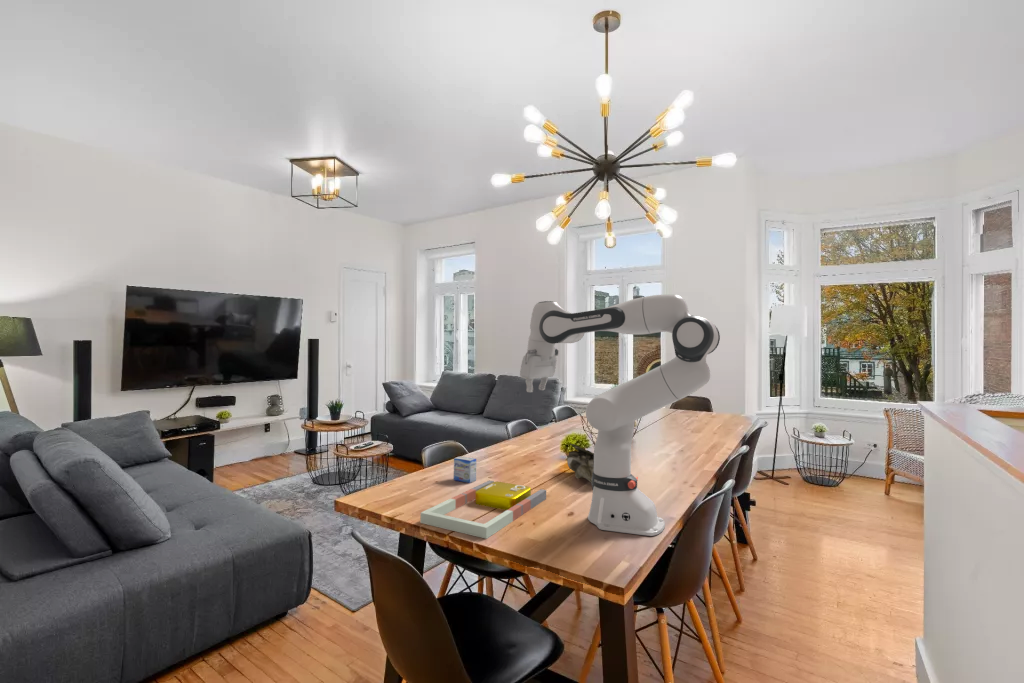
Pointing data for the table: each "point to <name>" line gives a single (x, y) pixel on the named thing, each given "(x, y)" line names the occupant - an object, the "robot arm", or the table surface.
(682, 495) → the table surface
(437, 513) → the trap track
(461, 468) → the medicine box
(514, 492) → the element tile
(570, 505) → the table surface
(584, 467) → the hollow geode rock
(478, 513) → the table surface
